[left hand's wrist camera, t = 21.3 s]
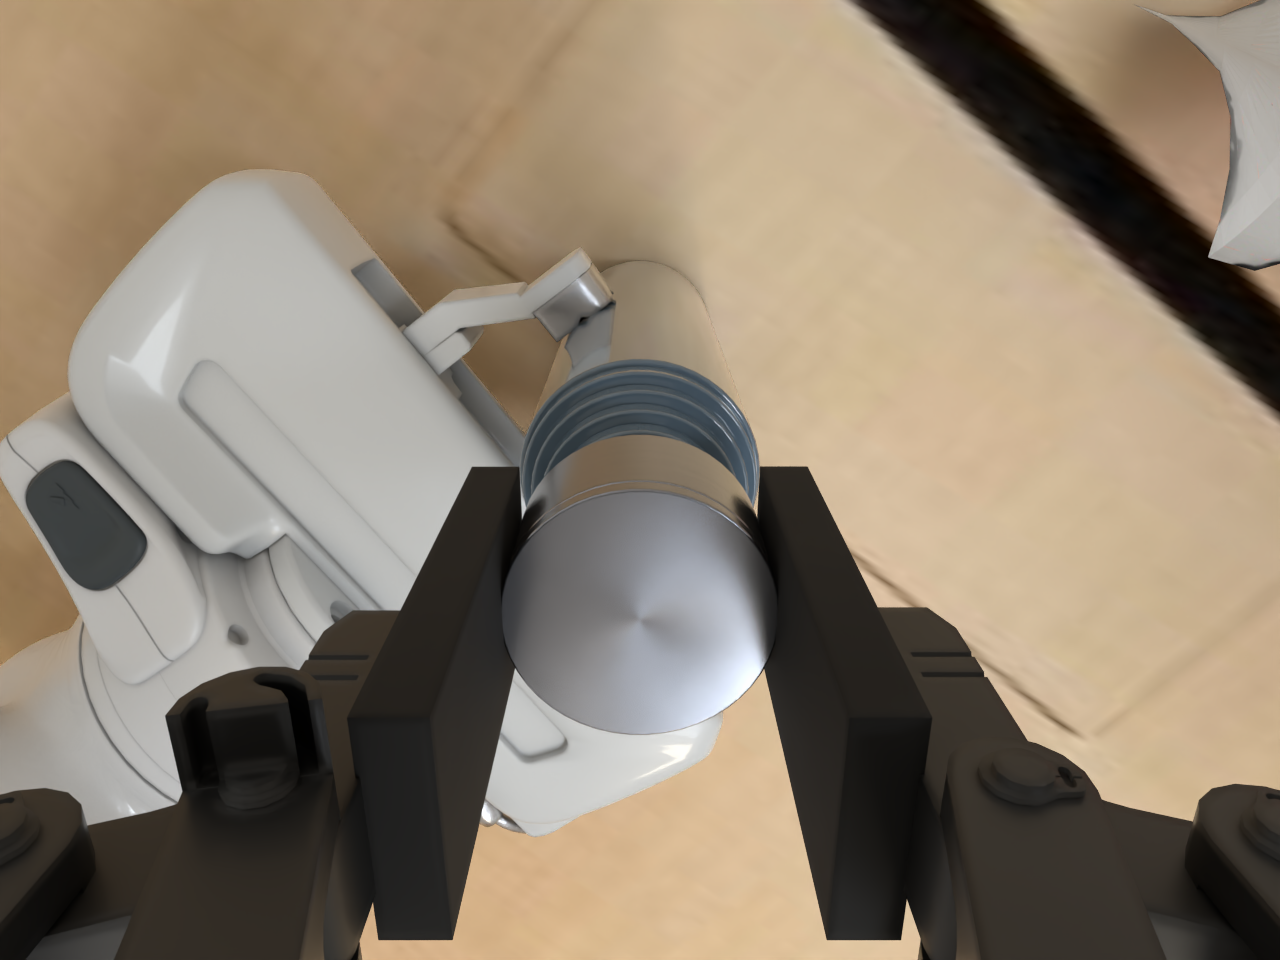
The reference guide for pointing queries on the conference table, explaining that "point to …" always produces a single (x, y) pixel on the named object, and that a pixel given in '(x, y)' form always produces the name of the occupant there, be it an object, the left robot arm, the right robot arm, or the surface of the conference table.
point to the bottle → (641, 379)
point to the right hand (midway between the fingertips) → (666, 364)
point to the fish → (1246, 126)
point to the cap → (639, 588)
